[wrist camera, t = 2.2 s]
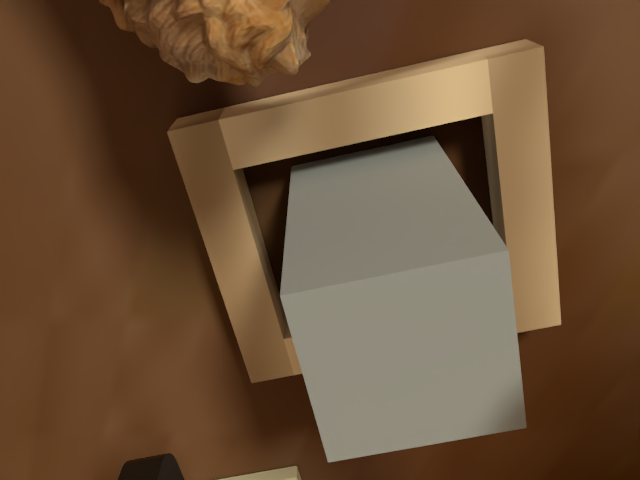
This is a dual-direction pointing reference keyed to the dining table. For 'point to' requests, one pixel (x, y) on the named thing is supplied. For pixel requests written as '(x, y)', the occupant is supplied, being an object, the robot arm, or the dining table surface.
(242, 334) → the pocket frame
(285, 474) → the tile
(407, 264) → the block
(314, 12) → the lion figurine
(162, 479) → the robot arm
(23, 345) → the dining table surface
